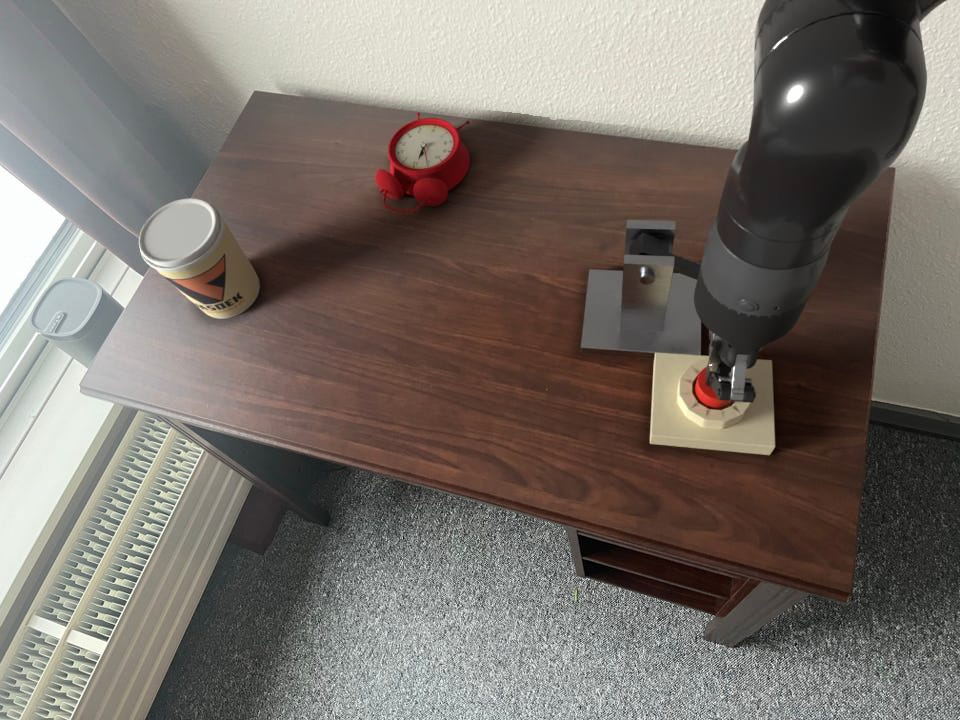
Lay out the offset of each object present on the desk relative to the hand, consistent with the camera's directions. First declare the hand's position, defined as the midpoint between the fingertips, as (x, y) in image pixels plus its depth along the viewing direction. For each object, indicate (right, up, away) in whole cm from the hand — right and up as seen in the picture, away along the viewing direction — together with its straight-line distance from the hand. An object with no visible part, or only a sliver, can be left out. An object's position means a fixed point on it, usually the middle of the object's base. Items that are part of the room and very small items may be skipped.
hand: (717, 379), depth 61 cm
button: (0, -1, +2) cm, 2 cm away
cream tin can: (-52, +10, +21) cm, 57 cm away
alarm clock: (-29, +25, +25) cm, 46 cm away
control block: (+1, -3, +5) cm, 6 cm away
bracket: (-4, +7, +11) cm, 14 cm away
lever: (-1, +9, +4) cm, 10 cm away
